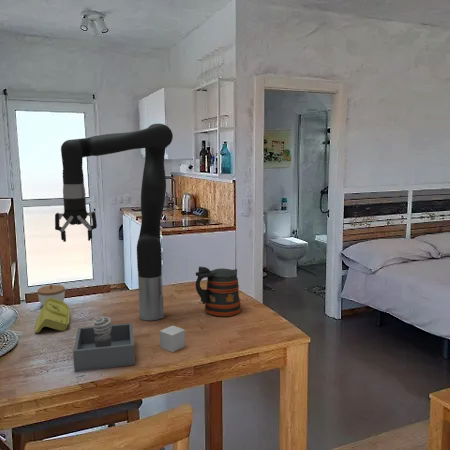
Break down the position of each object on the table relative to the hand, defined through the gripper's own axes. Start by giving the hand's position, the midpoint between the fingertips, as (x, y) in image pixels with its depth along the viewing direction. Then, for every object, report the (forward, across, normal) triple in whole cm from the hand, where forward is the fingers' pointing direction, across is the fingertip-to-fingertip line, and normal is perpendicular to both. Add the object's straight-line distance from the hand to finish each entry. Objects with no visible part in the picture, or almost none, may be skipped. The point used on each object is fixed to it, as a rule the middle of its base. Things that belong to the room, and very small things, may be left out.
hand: (77, 240), depth 165 cm
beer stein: (+33, +53, +3) cm, 63 cm away
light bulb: (+32, +8, -26) cm, 42 cm away
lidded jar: (+33, -14, +26) cm, 45 cm away
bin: (+33, +9, -26) cm, 43 cm away
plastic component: (+34, -11, +6) cm, 36 cm away
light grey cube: (+33, +31, -25) cm, 52 cm away
